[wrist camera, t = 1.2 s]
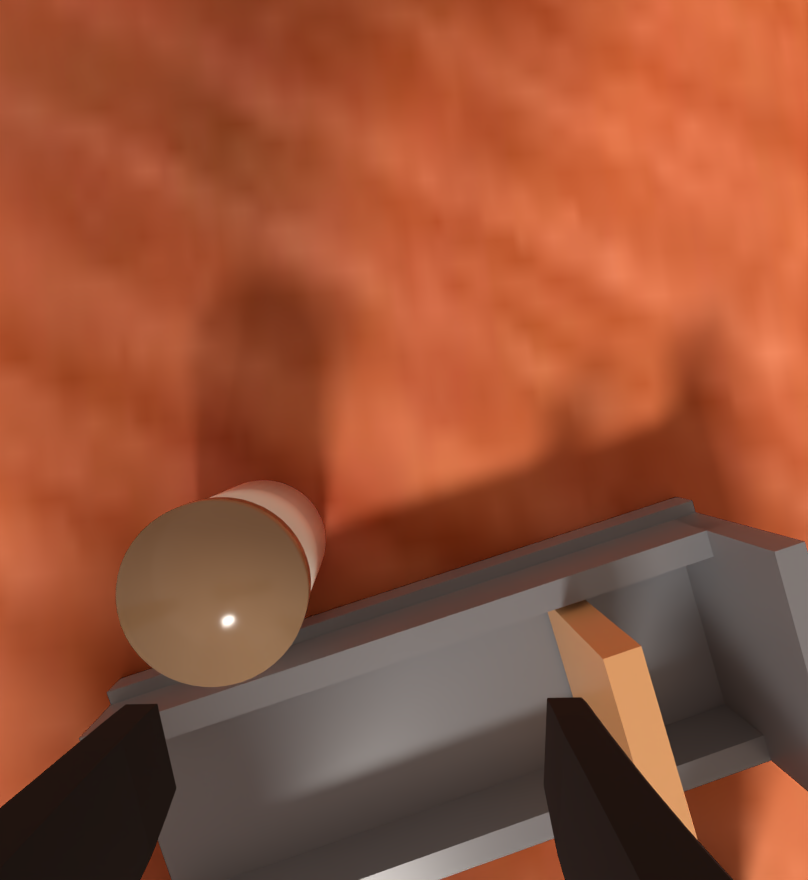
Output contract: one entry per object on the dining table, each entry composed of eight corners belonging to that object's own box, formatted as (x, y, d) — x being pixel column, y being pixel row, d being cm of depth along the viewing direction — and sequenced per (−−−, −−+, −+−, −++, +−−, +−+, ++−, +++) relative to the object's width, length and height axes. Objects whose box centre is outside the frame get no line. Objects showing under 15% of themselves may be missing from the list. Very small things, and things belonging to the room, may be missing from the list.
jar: (221, 622, 20) (150, 712, 13) (180, 500, 19) (89, 534, 13) (344, 582, 20) (331, 652, 14) (305, 461, 20) (275, 477, 14)
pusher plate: (588, 748, 19) (662, 860, 14) (543, 598, 19) (603, 659, 14) (616, 739, 20) (699, 846, 15) (572, 588, 19) (641, 646, 14)
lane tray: (199, 906, 20) (123, 1113, 14) (120, 678, 19) (7, 791, 13) (738, 716, 21) (883, 831, 15) (677, 496, 21) (800, 525, 15)
